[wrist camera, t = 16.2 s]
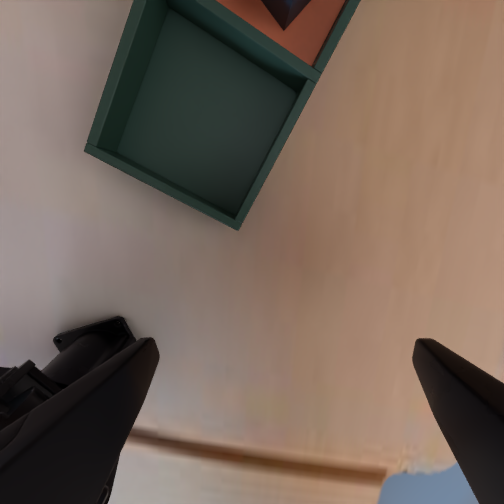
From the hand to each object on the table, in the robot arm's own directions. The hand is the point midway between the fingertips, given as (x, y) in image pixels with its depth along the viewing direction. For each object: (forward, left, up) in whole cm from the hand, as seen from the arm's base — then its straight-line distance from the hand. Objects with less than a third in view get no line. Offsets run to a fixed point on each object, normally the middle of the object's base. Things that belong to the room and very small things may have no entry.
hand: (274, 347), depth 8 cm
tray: (+3, +14, -12) cm, 19 cm away
